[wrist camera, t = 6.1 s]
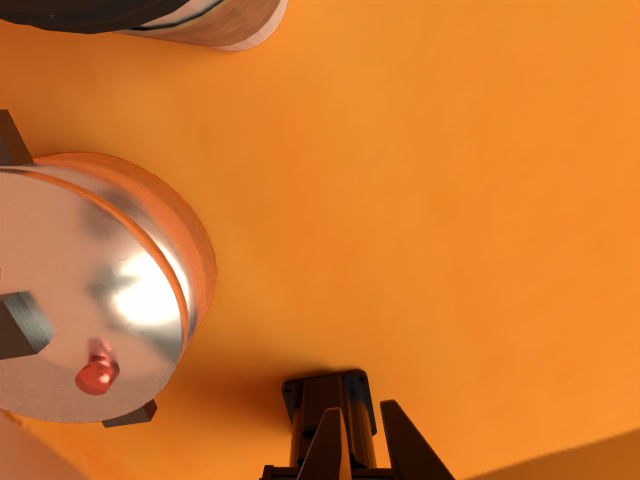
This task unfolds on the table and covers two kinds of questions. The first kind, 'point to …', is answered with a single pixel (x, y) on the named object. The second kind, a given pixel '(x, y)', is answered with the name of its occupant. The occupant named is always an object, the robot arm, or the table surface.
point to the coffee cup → (156, 19)
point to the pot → (141, 206)
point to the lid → (81, 304)
